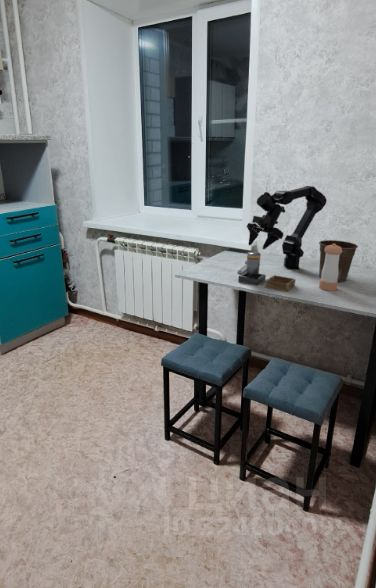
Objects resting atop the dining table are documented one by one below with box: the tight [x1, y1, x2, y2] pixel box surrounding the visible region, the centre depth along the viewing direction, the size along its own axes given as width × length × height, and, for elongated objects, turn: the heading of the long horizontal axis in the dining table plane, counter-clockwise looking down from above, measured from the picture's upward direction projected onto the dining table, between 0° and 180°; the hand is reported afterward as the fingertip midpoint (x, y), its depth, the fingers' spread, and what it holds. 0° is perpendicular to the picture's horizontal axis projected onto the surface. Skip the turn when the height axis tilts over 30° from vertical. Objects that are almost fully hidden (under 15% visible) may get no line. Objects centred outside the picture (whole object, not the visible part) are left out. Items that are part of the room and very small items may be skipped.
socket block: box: [238, 271, 267, 286], centre depth 176 cm, size 9×9×2 cm
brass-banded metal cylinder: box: [245, 251, 261, 279], centre depth 175 cm, size 6×6×12 cm
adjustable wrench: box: [236, 260, 247, 275], centre depth 197 cm, size 25×6×2 cm, turn 151°
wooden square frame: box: [264, 274, 296, 292], centre depth 169 cm, size 10×10×3 cm
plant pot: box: [318, 239, 359, 283], centre depth 180 cm, size 16×16×16 cm
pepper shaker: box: [318, 244, 342, 292], centre depth 166 cm, size 7×7×19 cm
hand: (256, 247), depth 181 cm, fingers open, 9 cm apart
